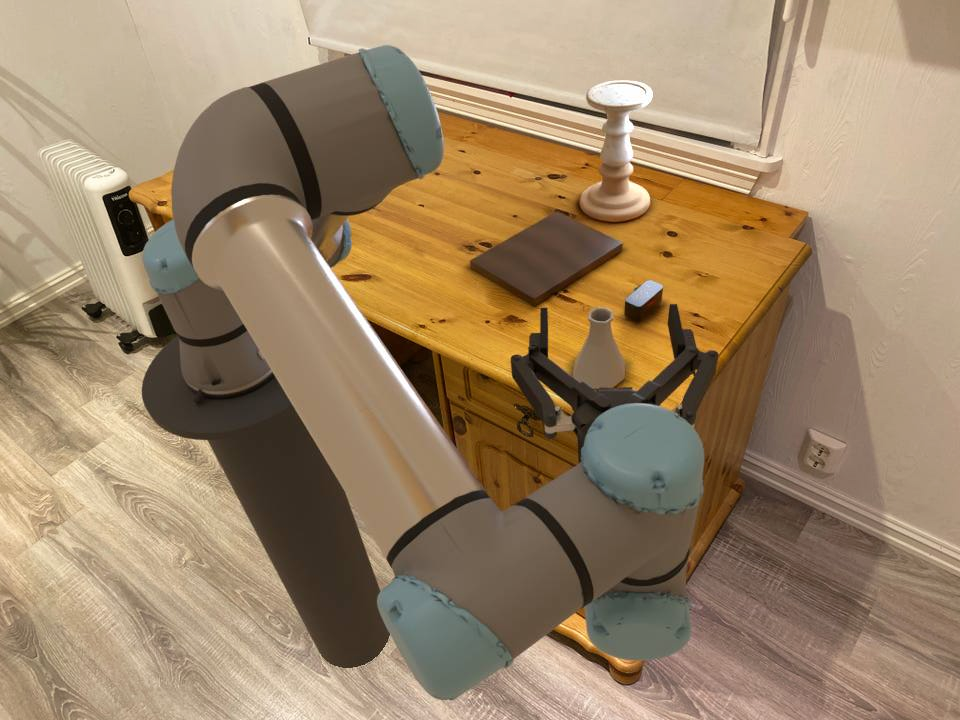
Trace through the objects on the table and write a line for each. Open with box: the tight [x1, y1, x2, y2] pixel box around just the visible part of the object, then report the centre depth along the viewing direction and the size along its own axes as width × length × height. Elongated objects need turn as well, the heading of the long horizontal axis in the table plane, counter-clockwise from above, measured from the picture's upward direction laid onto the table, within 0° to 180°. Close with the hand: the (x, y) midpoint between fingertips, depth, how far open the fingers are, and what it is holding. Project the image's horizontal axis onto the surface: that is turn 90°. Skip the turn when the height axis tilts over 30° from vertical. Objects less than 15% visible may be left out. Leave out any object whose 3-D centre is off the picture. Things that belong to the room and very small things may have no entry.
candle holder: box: [579, 79, 653, 223], centre depth 120 cm, size 12×12×20 cm
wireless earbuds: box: [623, 279, 664, 323], centre depth 104 cm, size 5×7×3 cm, turn 136°
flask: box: [571, 306, 626, 390], centre depth 93 cm, size 7×7×10 cm
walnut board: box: [469, 210, 624, 307], centre depth 116 cm, size 20×15×2 cm
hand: (607, 315), depth 77 cm, fingers open, 13 cm apart
